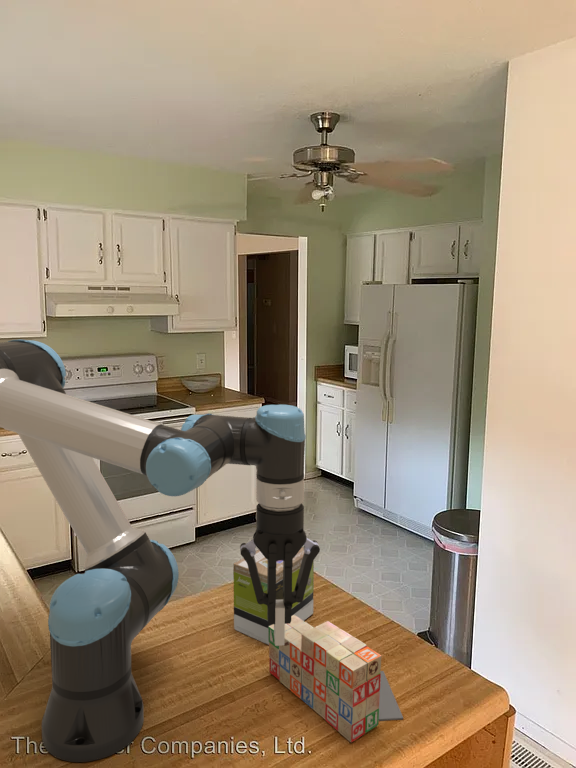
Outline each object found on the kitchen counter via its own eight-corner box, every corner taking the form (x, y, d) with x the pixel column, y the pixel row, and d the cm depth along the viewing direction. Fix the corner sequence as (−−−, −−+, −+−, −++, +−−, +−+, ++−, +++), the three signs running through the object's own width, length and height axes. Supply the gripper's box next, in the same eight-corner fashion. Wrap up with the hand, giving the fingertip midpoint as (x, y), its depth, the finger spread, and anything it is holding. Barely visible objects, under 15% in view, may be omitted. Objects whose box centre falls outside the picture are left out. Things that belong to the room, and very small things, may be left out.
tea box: (276, 600, 133) (277, 536, 131) (314, 615, 127) (316, 549, 125) (231, 630, 121) (232, 561, 119) (271, 648, 115) (272, 576, 113)
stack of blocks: (267, 673, 108) (267, 609, 106) (295, 659, 112) (295, 598, 110) (351, 743, 91) (353, 669, 89) (380, 725, 95) (382, 654, 93)
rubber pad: (360, 722, 96) (360, 720, 96) (345, 674, 108) (345, 672, 108) (403, 719, 97) (403, 717, 97) (383, 672, 109) (383, 670, 109)
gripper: (239, 513, 90) (239, 656, 94) (324, 510, 92) (322, 652, 96) (238, 496, 98) (238, 630, 101) (317, 494, 99) (315, 626, 103)
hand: (279, 640), depth 98 cm, fingers closed
